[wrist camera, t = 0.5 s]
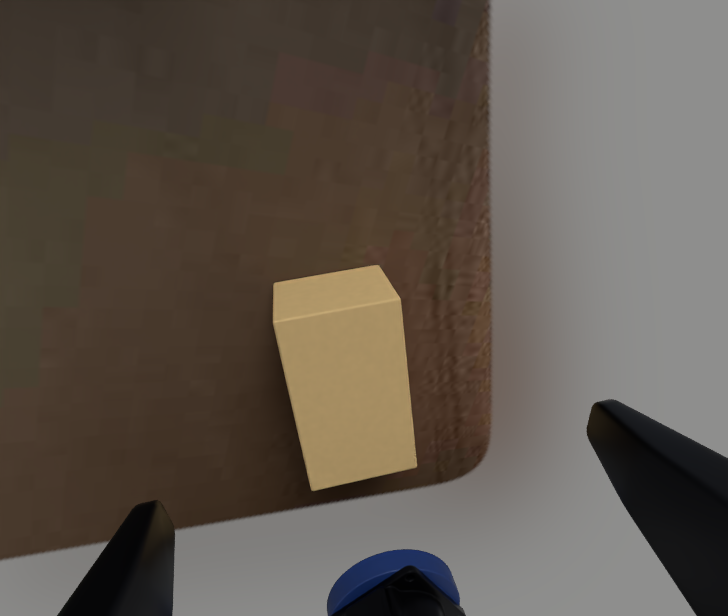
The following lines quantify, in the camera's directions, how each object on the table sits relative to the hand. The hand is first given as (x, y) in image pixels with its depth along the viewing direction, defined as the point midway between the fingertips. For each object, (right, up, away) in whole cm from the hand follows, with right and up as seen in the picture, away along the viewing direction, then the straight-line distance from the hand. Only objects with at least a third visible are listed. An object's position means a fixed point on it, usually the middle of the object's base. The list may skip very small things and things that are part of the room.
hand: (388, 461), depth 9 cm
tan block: (-2, +1, +12) cm, 12 cm away
